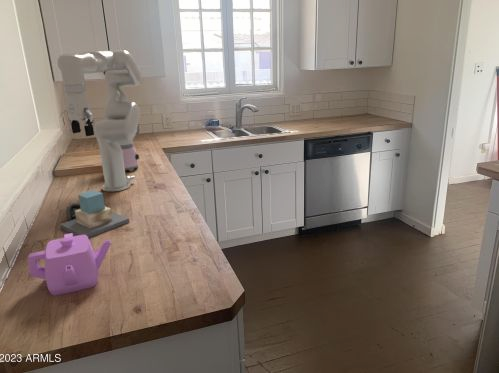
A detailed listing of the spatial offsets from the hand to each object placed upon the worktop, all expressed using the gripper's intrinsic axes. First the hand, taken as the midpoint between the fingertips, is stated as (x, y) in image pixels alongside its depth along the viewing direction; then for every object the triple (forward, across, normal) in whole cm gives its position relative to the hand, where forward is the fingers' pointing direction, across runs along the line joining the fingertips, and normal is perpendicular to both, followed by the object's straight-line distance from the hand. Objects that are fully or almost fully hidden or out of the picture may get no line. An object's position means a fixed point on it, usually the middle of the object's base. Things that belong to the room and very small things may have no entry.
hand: (83, 134), depth 153 cm
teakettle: (+28, +49, -35) cm, 67 cm away
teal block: (+23, +19, -12) cm, 32 cm away
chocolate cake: (+30, +8, -11) cm, 32 cm away
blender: (+31, -34, +40) cm, 61 cm away
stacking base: (+29, +20, -12) cm, 37 cm away
